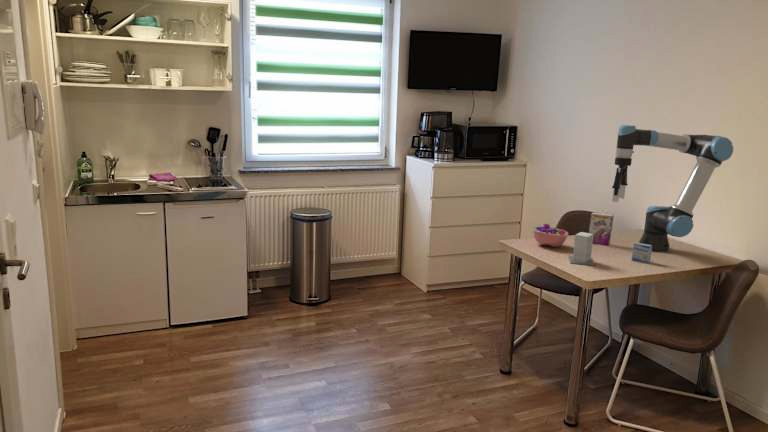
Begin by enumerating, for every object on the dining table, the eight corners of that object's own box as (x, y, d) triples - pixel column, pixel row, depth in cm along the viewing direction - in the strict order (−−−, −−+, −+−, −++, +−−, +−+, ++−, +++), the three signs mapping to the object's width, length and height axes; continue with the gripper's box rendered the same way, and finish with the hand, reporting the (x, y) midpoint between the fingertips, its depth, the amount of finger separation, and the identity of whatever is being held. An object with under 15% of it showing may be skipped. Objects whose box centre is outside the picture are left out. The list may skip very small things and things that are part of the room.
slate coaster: (591, 258, 281) (591, 257, 281) (594, 265, 269) (594, 264, 269) (568, 256, 284) (568, 255, 283) (570, 263, 271) (570, 262, 271)
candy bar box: (587, 242, 313) (590, 213, 310) (589, 240, 317) (592, 212, 314) (608, 246, 307) (612, 216, 304) (610, 244, 312) (613, 214, 308)
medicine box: (631, 260, 281) (633, 243, 279) (633, 258, 284) (635, 241, 282) (648, 263, 276) (650, 246, 274) (650, 261, 280) (652, 244, 278)
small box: (578, 257, 281) (580, 231, 278) (590, 259, 277) (594, 233, 274) (572, 260, 275) (575, 234, 272) (585, 263, 271) (588, 236, 268)
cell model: (552, 252, 290) (554, 230, 288) (524, 242, 307) (525, 222, 305) (574, 248, 299) (577, 227, 297) (546, 239, 316) (548, 220, 313)
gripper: (626, 159, 265) (621, 204, 270) (636, 156, 286) (631, 197, 290) (609, 158, 269) (604, 202, 274) (620, 154, 290) (615, 195, 294)
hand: (618, 200), depth 282 cm, fingers open, 13 cm apart
